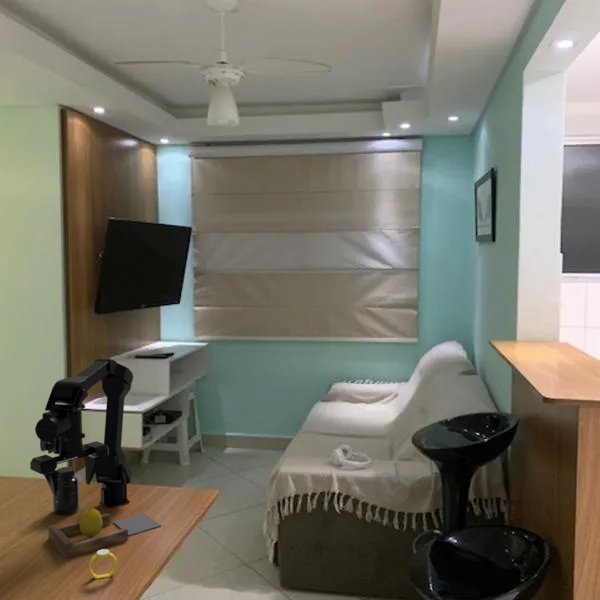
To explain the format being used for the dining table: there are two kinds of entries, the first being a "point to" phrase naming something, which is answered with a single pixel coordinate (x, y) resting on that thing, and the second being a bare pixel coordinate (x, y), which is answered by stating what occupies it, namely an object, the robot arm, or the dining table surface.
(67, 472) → the supplement bottle
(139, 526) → the mat
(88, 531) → the lemon
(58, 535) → the shelf lane
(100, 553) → the watch
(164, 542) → the dining table surface
